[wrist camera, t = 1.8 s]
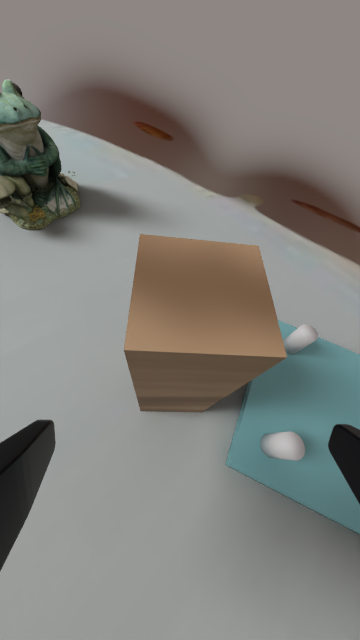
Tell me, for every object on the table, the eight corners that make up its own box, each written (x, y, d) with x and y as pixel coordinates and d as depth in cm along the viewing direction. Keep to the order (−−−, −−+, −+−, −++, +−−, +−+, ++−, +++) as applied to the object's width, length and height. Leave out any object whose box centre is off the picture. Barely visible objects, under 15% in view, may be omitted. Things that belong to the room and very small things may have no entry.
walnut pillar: (201, 412, 18) (287, 357, 7) (140, 410, 17) (123, 350, 6) (199, 354, 20) (258, 245, 9) (145, 352, 20) (140, 234, 9)
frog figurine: (13, 283, 22) (-99, 151, 12) (-71, 200, 27) (-204, 54, 17) (138, 212, 30) (133, 98, 20) (58, 158, 35) (20, 42, 25)
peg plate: (417, 564, 15) (498, 600, 11) (225, 464, 16) (245, 470, 13) (398, 378, 22) (444, 365, 18) (265, 321, 23) (284, 299, 20)
